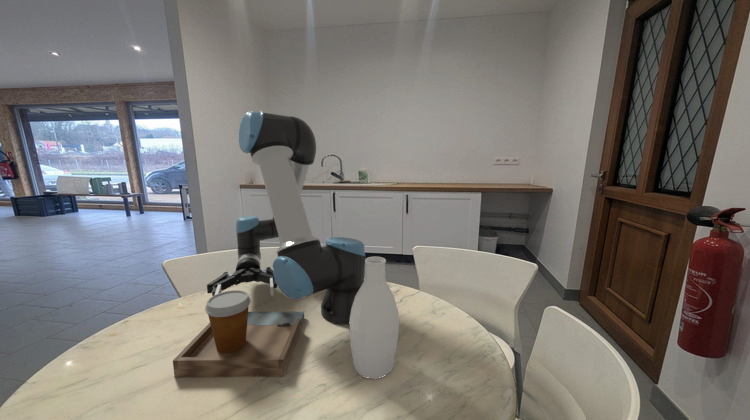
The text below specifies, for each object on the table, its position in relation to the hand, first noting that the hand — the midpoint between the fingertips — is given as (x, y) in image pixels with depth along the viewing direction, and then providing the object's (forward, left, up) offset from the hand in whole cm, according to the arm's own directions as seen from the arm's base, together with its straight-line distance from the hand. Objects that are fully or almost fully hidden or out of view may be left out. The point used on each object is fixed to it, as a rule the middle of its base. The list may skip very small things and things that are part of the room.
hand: (245, 295), depth 74 cm
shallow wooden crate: (-3, +6, -10) cm, 12 cm away
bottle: (-34, +14, -10) cm, 38 cm away
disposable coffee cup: (0, +9, -8) cm, 12 cm away
